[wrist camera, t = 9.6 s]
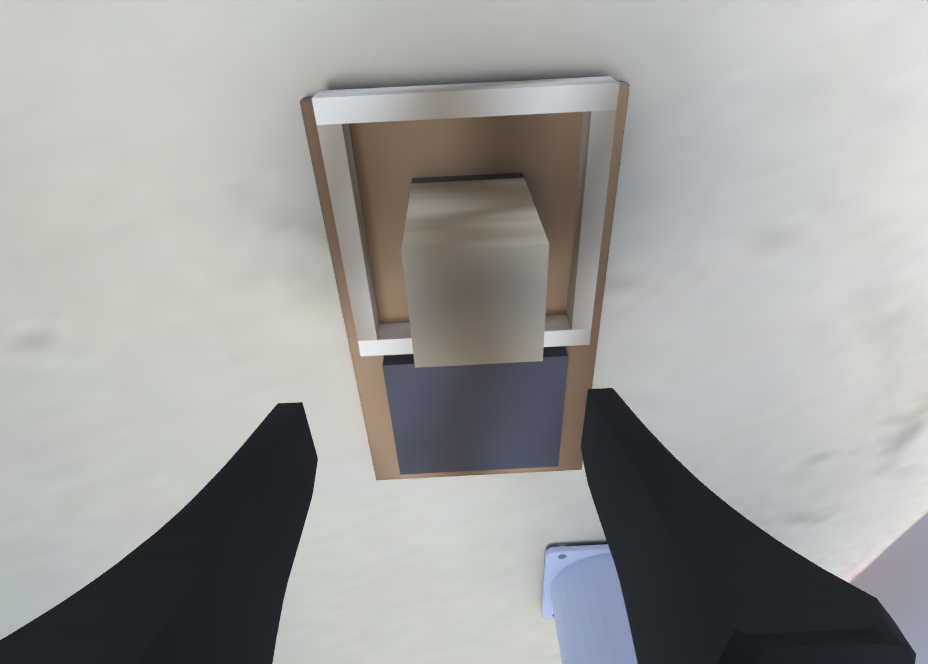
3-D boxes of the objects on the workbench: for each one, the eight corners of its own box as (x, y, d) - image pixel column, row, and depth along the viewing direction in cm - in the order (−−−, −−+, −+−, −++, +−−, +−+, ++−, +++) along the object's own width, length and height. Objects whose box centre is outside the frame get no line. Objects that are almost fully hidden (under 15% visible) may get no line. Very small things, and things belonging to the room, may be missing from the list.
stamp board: (625, 71, 18) (641, 81, 17) (579, 460, 29) (586, 487, 28) (301, 88, 18) (289, 99, 17) (377, 471, 29) (373, 498, 28)
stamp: (522, 172, 19) (549, 243, 14) (520, 270, 22) (542, 361, 17) (412, 178, 19) (400, 251, 14) (421, 275, 22) (415, 367, 17)
